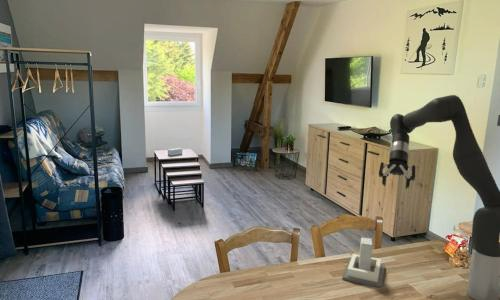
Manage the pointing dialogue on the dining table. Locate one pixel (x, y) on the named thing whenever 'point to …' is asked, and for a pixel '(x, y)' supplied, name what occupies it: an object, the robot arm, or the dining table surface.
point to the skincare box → (365, 254)
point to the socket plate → (364, 272)
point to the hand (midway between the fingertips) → (395, 186)
